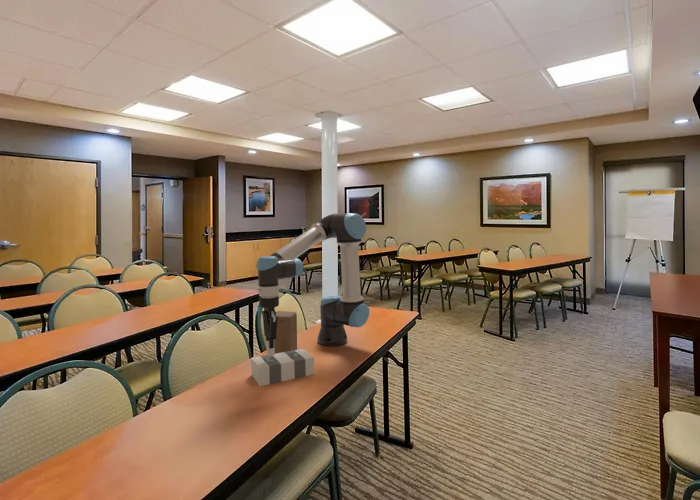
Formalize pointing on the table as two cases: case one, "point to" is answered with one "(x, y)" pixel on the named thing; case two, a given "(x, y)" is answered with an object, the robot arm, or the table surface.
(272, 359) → the peg
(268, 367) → the socket board
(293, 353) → the peg
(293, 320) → the wooden block
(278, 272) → the robot arm
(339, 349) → the table surface
